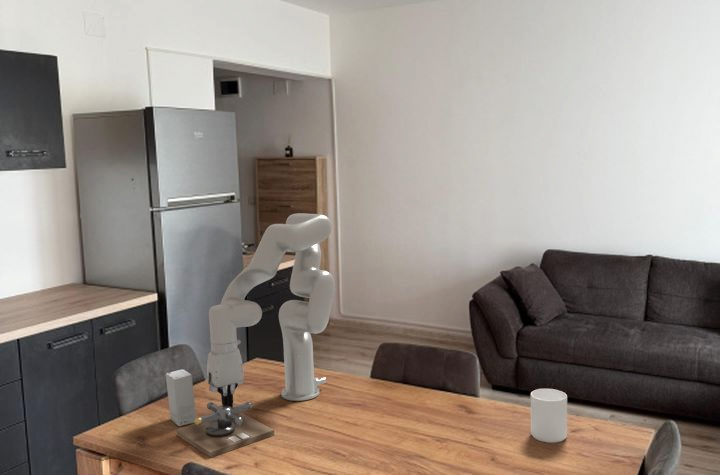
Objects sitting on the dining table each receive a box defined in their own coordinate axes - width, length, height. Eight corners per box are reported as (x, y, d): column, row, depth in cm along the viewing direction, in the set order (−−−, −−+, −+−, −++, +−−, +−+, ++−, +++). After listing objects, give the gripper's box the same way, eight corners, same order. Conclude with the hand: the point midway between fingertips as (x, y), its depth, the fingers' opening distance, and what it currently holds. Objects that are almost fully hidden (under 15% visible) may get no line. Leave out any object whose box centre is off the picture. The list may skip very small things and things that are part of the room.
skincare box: (197, 422, 199) (193, 374, 197) (177, 427, 196) (173, 379, 194) (187, 414, 206) (184, 367, 204) (168, 418, 202) (165, 371, 201)
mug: (530, 441, 177) (529, 399, 176) (532, 424, 189) (531, 384, 187) (567, 445, 174) (567, 402, 173) (566, 426, 186) (566, 386, 184)
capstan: (237, 411, 201) (235, 392, 201) (269, 429, 188) (268, 407, 187) (181, 429, 190) (179, 408, 189) (211, 449, 176) (210, 426, 175)
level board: (238, 415, 203) (238, 410, 203) (274, 435, 188) (274, 429, 187) (177, 435, 190) (176, 429, 190) (210, 457, 175) (210, 451, 175)
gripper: (239, 339, 202) (243, 397, 204) (194, 349, 193) (198, 410, 195) (252, 344, 196) (256, 403, 199) (207, 355, 187) (211, 417, 189)
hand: (227, 406), depth 197 cm, fingers closed
